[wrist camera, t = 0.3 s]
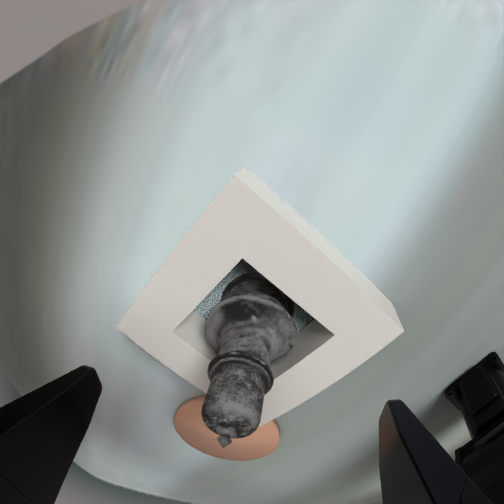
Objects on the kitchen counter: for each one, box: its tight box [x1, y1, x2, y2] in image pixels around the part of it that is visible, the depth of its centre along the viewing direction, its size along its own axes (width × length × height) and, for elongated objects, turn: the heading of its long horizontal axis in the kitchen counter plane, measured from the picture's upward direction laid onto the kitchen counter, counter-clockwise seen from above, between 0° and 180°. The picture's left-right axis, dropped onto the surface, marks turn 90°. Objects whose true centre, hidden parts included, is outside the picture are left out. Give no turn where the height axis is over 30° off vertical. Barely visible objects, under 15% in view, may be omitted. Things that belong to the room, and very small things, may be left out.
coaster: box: [174, 395, 280, 461], centre depth 29 cm, size 11×11×1 cm
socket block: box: [116, 167, 404, 427], centre depth 21 cm, size 14×14×4 cm
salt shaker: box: [201, 273, 297, 448], centre depth 17 cm, size 6×6×12 cm
